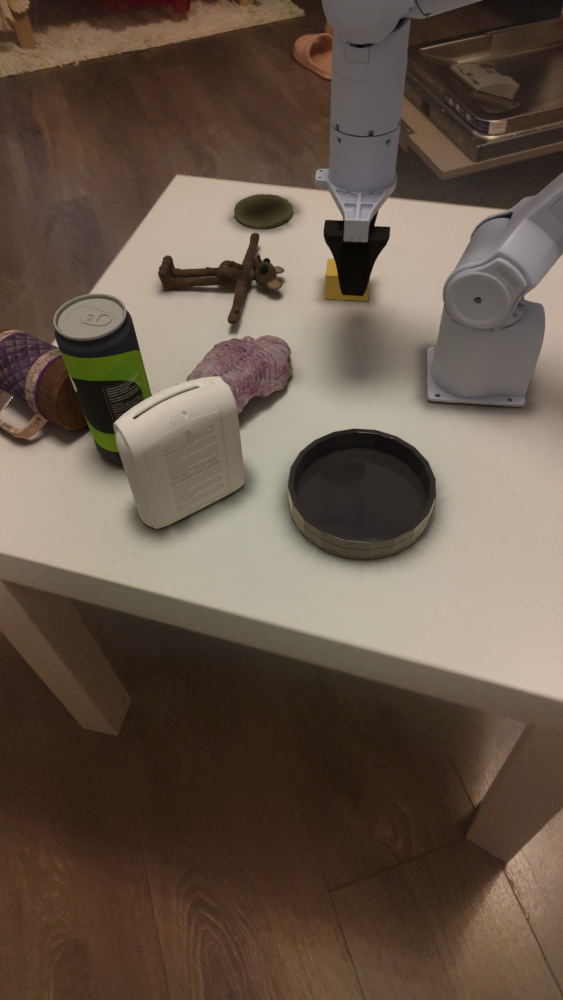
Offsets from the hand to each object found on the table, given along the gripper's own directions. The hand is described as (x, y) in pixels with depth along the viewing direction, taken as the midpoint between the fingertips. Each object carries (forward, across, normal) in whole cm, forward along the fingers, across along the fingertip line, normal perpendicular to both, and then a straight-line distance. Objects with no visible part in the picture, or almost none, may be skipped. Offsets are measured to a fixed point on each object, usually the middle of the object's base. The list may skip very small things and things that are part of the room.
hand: (355, 269), depth 64 cm
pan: (+9, +21, +2) cm, 23 cm away
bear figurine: (+10, -10, -16) cm, 21 cm away
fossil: (+10, +8, -11) cm, 17 cm away
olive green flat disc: (+9, -27, -13) cm, 31 cm away
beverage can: (+10, +17, -20) cm, 28 cm away
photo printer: (+10, +22, -13) cm, 27 cm away
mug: (+6, +16, -25) cm, 30 cm away
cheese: (+9, -10, -1) cm, 14 cm away
